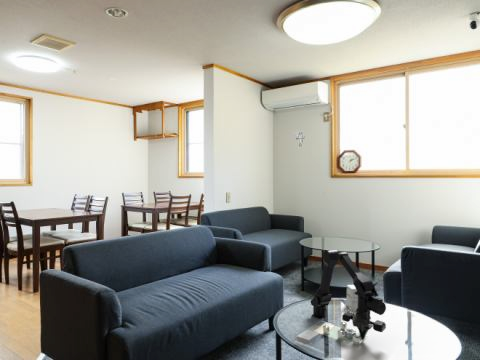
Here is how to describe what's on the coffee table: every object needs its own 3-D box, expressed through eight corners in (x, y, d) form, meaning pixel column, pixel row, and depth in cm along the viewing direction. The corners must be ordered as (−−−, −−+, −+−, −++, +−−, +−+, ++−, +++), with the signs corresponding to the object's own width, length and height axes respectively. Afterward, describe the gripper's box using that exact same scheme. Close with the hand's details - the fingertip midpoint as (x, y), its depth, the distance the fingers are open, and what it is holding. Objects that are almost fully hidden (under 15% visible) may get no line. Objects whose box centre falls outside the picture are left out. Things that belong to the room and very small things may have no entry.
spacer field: (321, 334, 166) (322, 326, 166) (333, 325, 176) (333, 318, 176) (357, 346, 155) (358, 339, 155) (367, 336, 165) (368, 329, 165)
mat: (313, 332, 169) (313, 331, 169) (325, 324, 179) (325, 322, 179) (357, 348, 155) (357, 346, 155) (367, 337, 165) (367, 336, 165)
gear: (342, 337, 164) (342, 331, 164) (346, 333, 168) (346, 327, 168) (353, 341, 160) (353, 334, 160) (358, 336, 164) (358, 330, 164)
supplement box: (345, 305, 205) (346, 284, 205) (357, 305, 206) (358, 284, 205) (350, 310, 198) (351, 288, 197) (363, 310, 198) (363, 288, 198)
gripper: (337, 306, 159) (336, 338, 160) (378, 317, 147) (377, 353, 148) (347, 299, 168) (346, 330, 168) (386, 310, 156) (385, 343, 156)
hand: (362, 339), depth 160 cm, fingers closed
